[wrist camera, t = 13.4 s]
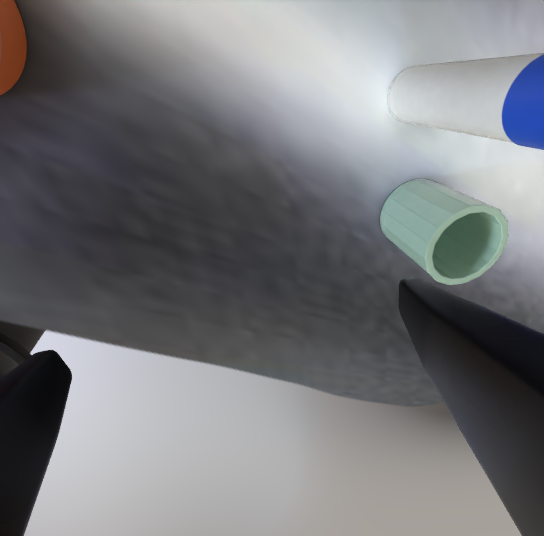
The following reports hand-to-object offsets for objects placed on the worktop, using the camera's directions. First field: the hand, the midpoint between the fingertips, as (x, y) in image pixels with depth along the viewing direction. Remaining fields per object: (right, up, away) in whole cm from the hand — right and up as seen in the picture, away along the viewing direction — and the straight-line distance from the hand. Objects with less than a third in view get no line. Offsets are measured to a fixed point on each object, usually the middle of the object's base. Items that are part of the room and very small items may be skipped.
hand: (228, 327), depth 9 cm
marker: (+9, +11, +10) cm, 18 cm away
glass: (+11, +5, +14) cm, 18 cm away
